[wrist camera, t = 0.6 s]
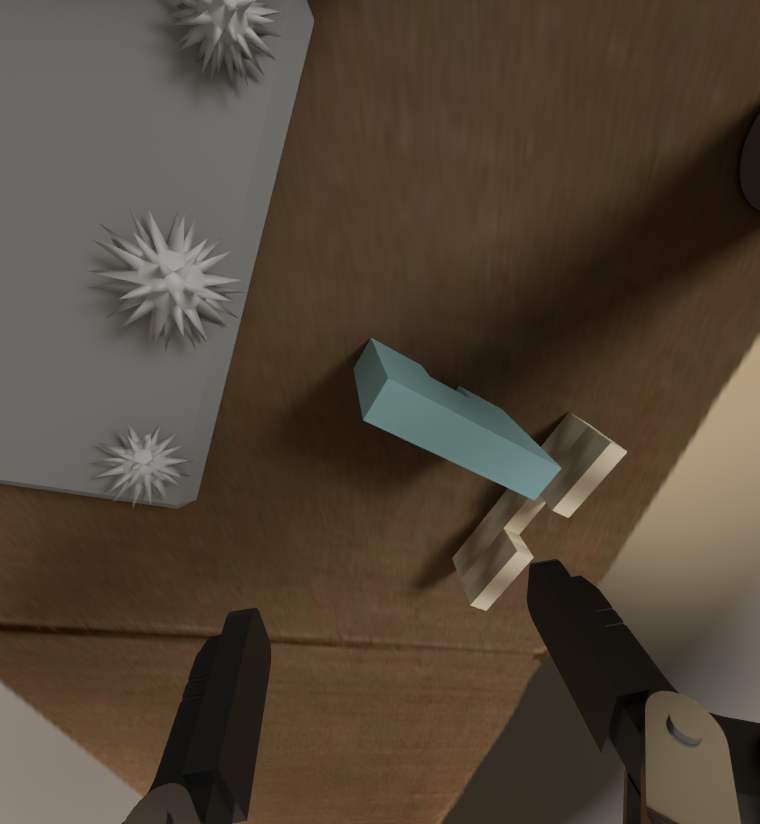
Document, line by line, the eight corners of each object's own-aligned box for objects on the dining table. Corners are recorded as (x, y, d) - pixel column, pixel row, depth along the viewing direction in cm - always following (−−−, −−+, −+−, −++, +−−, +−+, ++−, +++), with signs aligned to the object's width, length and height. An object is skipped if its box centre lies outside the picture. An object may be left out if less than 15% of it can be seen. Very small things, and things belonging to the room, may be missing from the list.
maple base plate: (568, 411, 36) (611, 442, 31) (583, 420, 37) (627, 451, 31) (452, 558, 42) (470, 605, 37) (466, 563, 43) (486, 610, 37)
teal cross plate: (353, 368, 32) (362, 420, 23) (371, 337, 31) (388, 378, 22) (483, 435, 36) (534, 500, 27) (501, 409, 35) (561, 468, 26)
